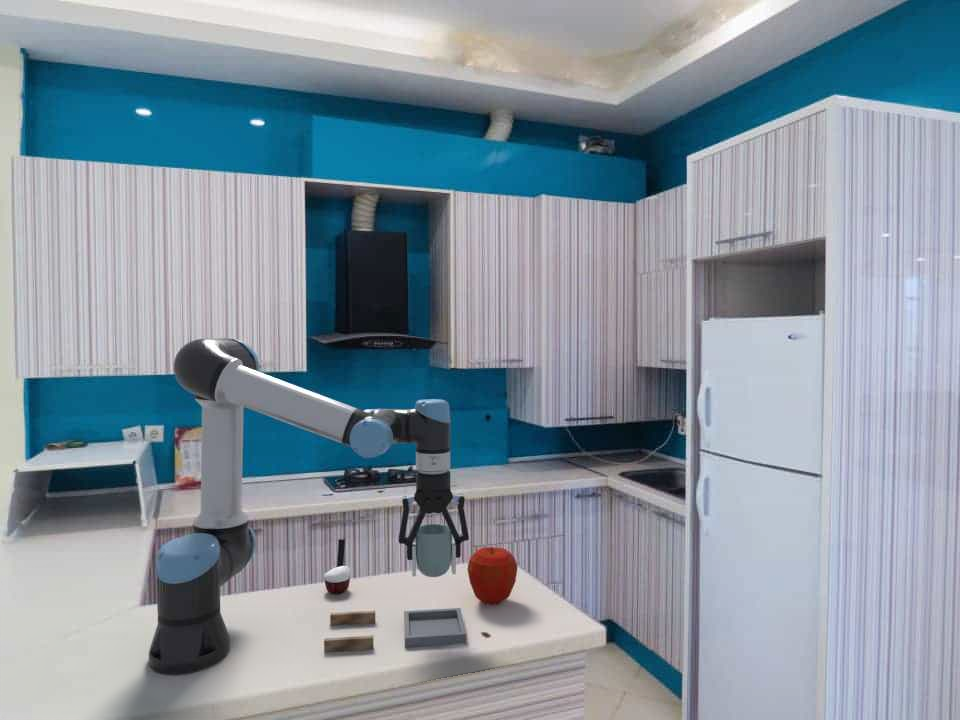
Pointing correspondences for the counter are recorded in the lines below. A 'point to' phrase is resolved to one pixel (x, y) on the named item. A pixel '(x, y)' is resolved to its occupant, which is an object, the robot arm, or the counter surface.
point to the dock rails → (350, 642)
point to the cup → (433, 549)
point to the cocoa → (338, 573)
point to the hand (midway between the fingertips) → (433, 572)
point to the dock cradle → (434, 627)
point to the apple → (492, 574)
